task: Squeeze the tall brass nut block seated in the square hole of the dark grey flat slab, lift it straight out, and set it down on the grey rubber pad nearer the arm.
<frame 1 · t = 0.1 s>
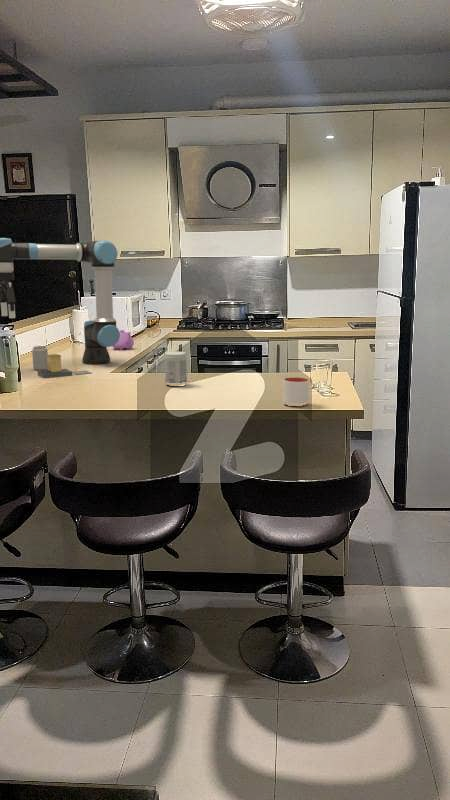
hand: (8, 317, 295), 28 cm above the countertop, fingers open, 13 cm apart
supplement tub: (176, 385, 277), on the countertop
rubber pad: (81, 372, 307), on the countertop
cup: (295, 405, 240), on the countertop
dark grey flat slab: (54, 375, 299), on the countertop
teapot: (123, 349, 391), on the countertop
nut block: (54, 375, 300), resting in dark grey flat slab
can: (41, 370, 315), on the countertop
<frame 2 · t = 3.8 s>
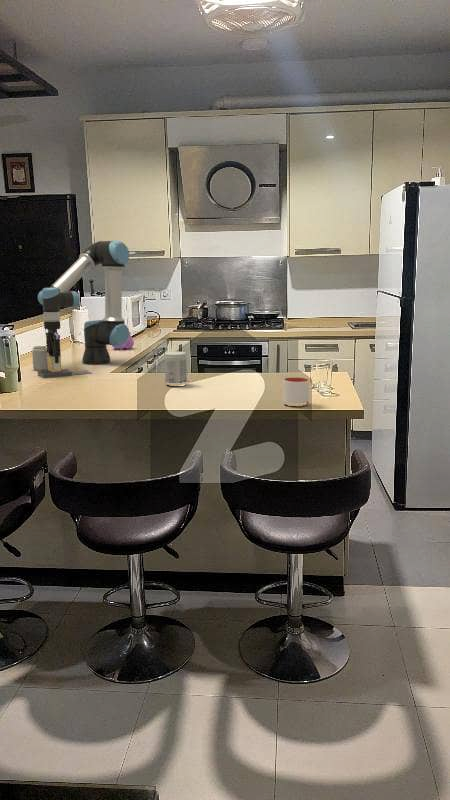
hand: (54, 368, 299), 3 cm above the countertop, fingers closed on nut block, 5 cm apart
nut block: (54, 375, 299), resting in dark grey flat slab, touching gripper
everything else where it was.
when the fingers open (5 cm above the countertop, at t = 10.2 s): nut block drops 2 cm, resting on rubber pad.
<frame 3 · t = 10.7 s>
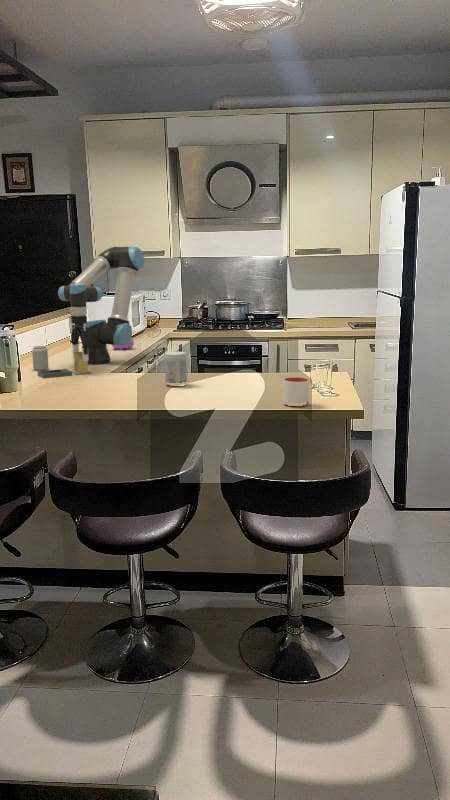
hand: (80, 359, 305), 7 cm above the countertop, fingers open, 12 cm apart
nut block: (81, 372, 307), resting on rubber pad
everything else where it was.
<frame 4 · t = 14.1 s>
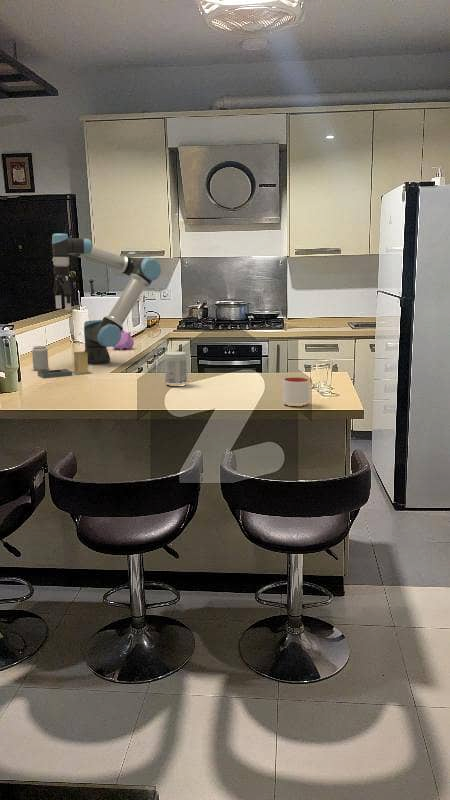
hand: (63, 309, 309), 31 cm above the countertop, fingers open, 13 cm apart
nothing on the countertop moved.
at the end: nut block 0.0 cm from the rubber pad (horizontally); nut block resting on rubber pad; the gripper is holding nothing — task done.
